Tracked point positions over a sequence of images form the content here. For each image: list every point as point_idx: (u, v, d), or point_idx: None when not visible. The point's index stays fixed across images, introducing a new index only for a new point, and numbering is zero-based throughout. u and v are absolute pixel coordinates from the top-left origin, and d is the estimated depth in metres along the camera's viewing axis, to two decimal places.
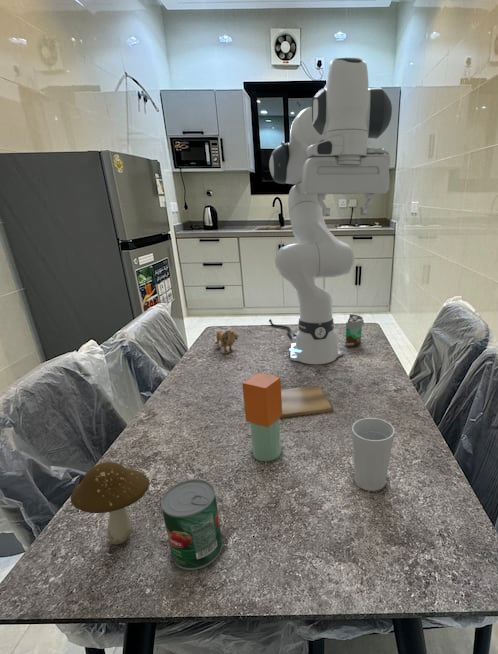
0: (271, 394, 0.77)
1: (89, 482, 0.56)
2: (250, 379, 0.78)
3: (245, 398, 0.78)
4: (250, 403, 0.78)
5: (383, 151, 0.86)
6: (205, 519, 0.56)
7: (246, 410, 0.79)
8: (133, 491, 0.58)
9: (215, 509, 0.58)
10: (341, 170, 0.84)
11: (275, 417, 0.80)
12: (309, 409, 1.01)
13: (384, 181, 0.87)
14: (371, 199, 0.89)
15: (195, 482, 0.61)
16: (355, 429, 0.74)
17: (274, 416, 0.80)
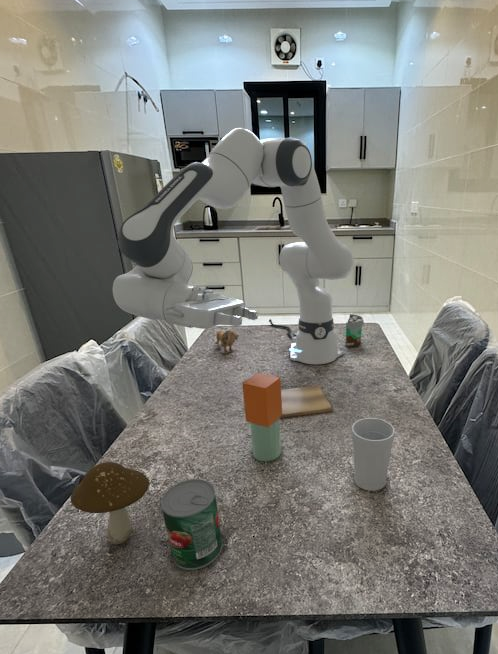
0: (271, 394, 0.77)
1: (89, 483, 0.56)
2: (250, 379, 0.78)
3: (245, 398, 0.78)
4: (250, 403, 0.78)
5: None
6: (205, 519, 0.56)
7: (246, 410, 0.79)
8: (133, 491, 0.58)
9: (215, 509, 0.58)
10: None
11: (275, 417, 0.80)
12: (309, 409, 1.01)
13: None
14: None
15: (195, 482, 0.61)
16: (355, 429, 0.74)
17: (274, 416, 0.80)
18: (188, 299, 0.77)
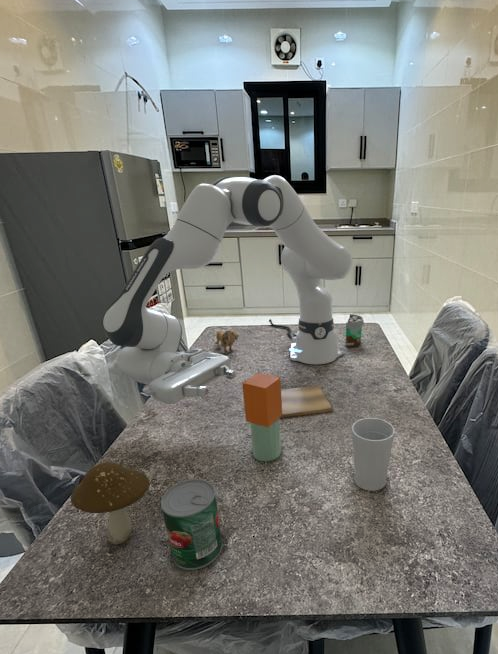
0: (271, 394, 0.77)
1: (89, 482, 0.56)
2: (250, 379, 0.78)
3: (245, 398, 0.78)
4: (250, 403, 0.78)
5: None
6: (205, 519, 0.56)
7: (246, 410, 0.79)
8: (133, 491, 0.58)
9: (215, 509, 0.58)
10: None
11: (275, 417, 0.80)
12: (309, 409, 1.01)
13: None
14: None
15: (195, 482, 0.61)
16: (355, 429, 0.74)
17: (274, 416, 0.80)
18: (168, 370, 0.86)
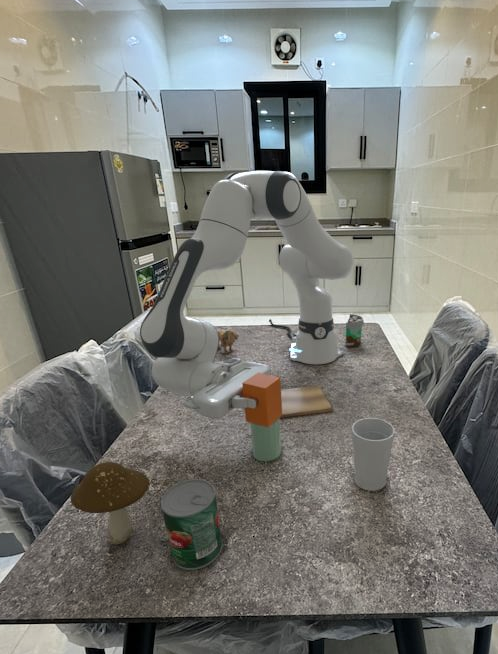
0: (271, 394, 0.77)
1: (89, 483, 0.56)
2: (250, 379, 0.78)
3: None
4: None
5: None
6: (205, 519, 0.56)
7: (246, 410, 0.79)
8: (133, 491, 0.58)
9: (215, 509, 0.58)
10: None
11: (275, 417, 0.80)
12: (309, 409, 1.01)
13: None
14: None
15: (195, 482, 0.61)
16: (355, 429, 0.74)
17: (274, 416, 0.80)
18: (209, 382, 0.81)
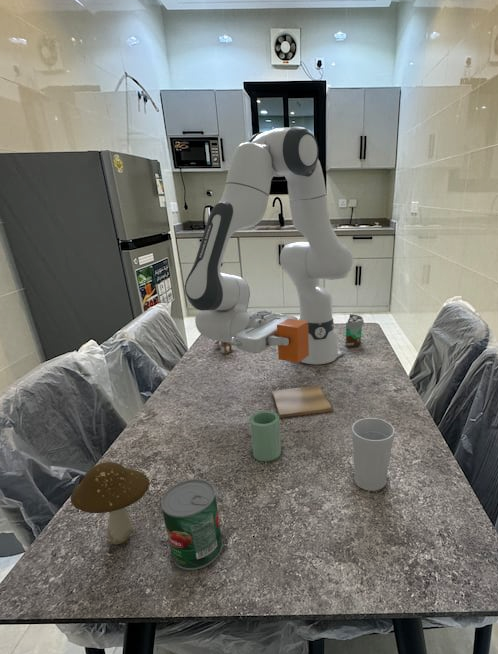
0: (301, 334, 0.92)
1: (89, 483, 0.56)
2: (283, 322, 0.93)
3: None
4: None
5: None
6: (205, 519, 0.56)
7: (279, 349, 0.94)
8: (133, 491, 0.58)
9: (215, 509, 0.58)
10: None
11: (303, 355, 0.95)
12: (309, 409, 1.01)
13: None
14: None
15: (195, 482, 0.61)
16: (355, 429, 0.74)
17: (303, 354, 0.95)
18: (247, 326, 0.96)
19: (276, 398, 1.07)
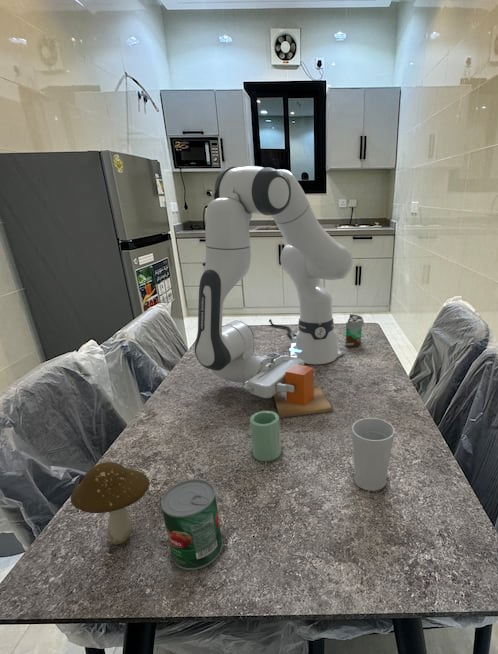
0: (307, 380, 1.01)
1: (89, 482, 0.56)
2: (290, 369, 1.03)
3: (287, 383, 1.02)
4: None
5: None
6: (205, 519, 0.56)
7: (287, 392, 1.04)
8: (133, 491, 0.58)
9: (215, 509, 0.58)
10: None
11: (309, 398, 1.04)
12: (309, 409, 1.01)
13: None
14: None
15: (195, 482, 0.61)
16: (355, 429, 0.74)
17: (309, 397, 1.04)
18: (259, 371, 1.05)
19: (276, 398, 1.07)
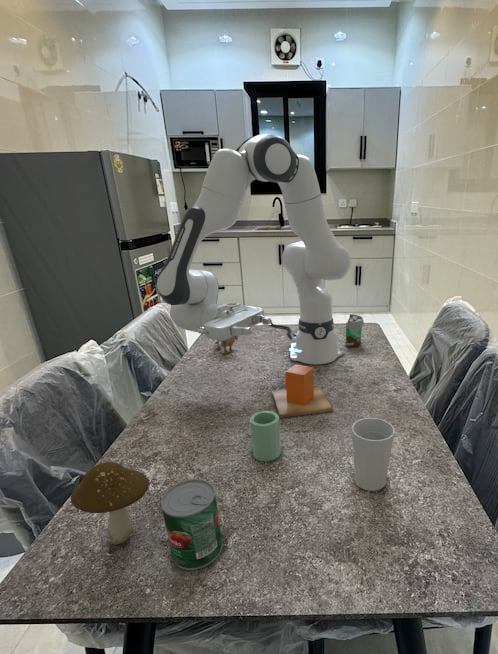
0: (307, 380, 1.01)
1: (89, 482, 0.56)
2: (290, 369, 1.03)
3: (287, 383, 1.02)
4: (291, 387, 1.02)
5: None
6: (205, 519, 0.56)
7: (287, 392, 1.04)
8: (133, 491, 0.58)
9: (215, 509, 0.58)
10: None
11: (309, 398, 1.04)
12: (309, 409, 1.01)
13: None
14: None
15: (195, 482, 0.61)
16: (355, 429, 0.74)
17: (309, 397, 1.04)
18: (216, 317, 1.05)
19: (276, 398, 1.07)
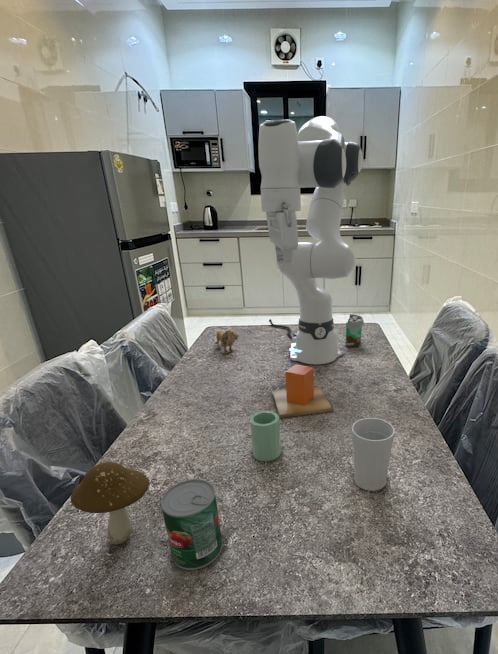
0: (307, 380, 1.01)
1: (89, 482, 0.56)
2: (290, 369, 1.03)
3: (287, 383, 1.02)
4: (291, 387, 1.02)
5: (285, 206, 0.79)
6: (205, 519, 0.56)
7: (287, 392, 1.04)
8: (133, 491, 0.58)
9: (215, 509, 0.58)
10: (274, 224, 0.89)
11: (309, 398, 1.04)
12: (309, 409, 1.01)
13: (280, 238, 0.81)
14: (282, 254, 0.85)
15: (195, 482, 0.61)
16: (355, 429, 0.74)
17: (309, 397, 1.04)
18: (292, 211, 0.85)
19: (276, 398, 1.07)
